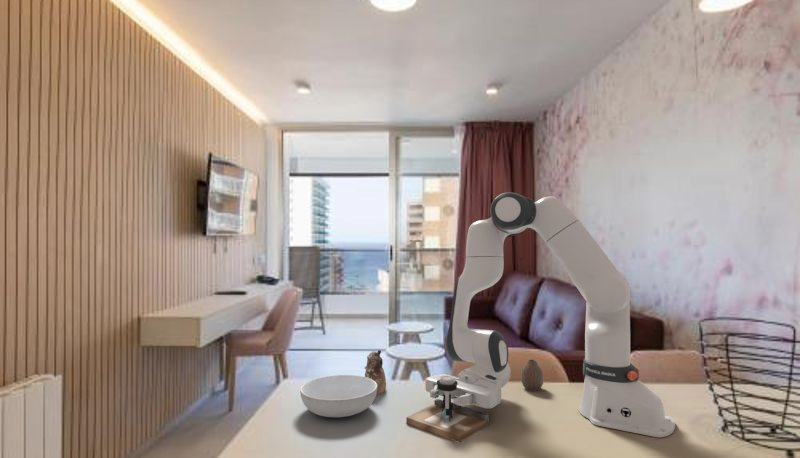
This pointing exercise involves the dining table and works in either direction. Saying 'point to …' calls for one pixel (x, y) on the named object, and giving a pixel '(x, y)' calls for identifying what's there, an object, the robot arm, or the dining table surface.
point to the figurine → (376, 371)
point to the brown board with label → (458, 426)
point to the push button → (447, 395)
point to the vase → (532, 376)
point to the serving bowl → (338, 395)
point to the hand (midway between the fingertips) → (443, 398)
